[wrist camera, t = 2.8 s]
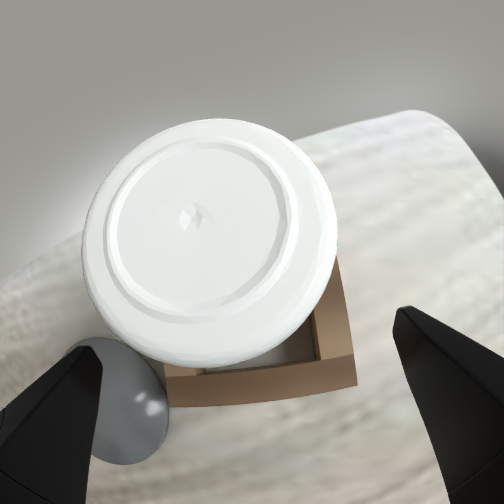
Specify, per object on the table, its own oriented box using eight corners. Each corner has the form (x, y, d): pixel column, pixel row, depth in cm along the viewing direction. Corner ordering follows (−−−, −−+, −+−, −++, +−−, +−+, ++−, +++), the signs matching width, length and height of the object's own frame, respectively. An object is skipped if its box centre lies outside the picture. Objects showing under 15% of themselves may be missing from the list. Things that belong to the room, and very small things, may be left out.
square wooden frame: (347, 380, 15) (357, 385, 13) (181, 400, 16) (169, 407, 14) (320, 223, 19) (325, 208, 16) (168, 245, 19) (156, 233, 17)
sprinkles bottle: (254, 260, 18) (213, 80, 5) (307, 313, 17) (400, 217, 4) (199, 311, 17) (41, 223, 5) (251, 366, 16) (179, 435, 3)
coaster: (127, 483, 14) (124, 486, 13) (45, 397, 16) (40, 397, 15) (196, 401, 16) (193, 403, 15) (97, 311, 18) (92, 310, 17)
